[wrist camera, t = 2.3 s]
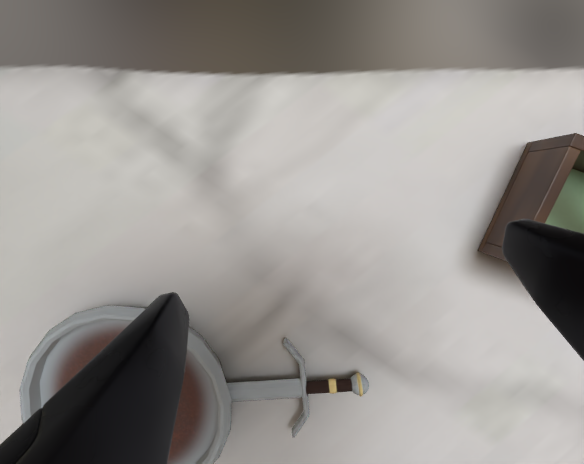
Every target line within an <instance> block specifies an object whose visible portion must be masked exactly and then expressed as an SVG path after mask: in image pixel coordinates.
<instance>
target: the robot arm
mask: <svg viewBox="0 0 584 464" xmlns="http://www.w3.org/2000/svg"><path fill="white" fill-rule="evenodd" d="M502 252H503V255H504V257H505V258H506V260H507V261H508V263H509V264H510V266H511V267H512V269H513V270H514V272H515V273H516V275H517V276H518V278H519V279H520V281H521V282H522V284H523V285H524V287H525V288H526V290H527V291H528V293H529V294H530V296H531V297H532V298H533V300H534V301H535V302H536V304H537V305H538V306H539V308H540V309H541V310H542V311H543V313H544V314H545V315H546V316H547V317H548V319H549V320H550V321H551V322H552V323H553V325H554V326H555V327H556V328H557V329H558V331H559V332H560V333H561V334H562V335H563V337H564V338H565V339H566V340H567V341H568V343H569V344H570V345H571V346H572V347H573V349H574V350H575V351H576V352H577V353H578V354H579V356H580V357H581V358H582V359H583V360H584V233H580V232H576V231H572V230H568V229H565V228H561V227H557V226H553V225H549V224H545V223H541V222H537V221H534V220H530V219H520V220H516V221H511V222H509V223H508V224H507V225H506V228H505V234H504V239H503V245H502ZM188 331H189V314H188V311H187V310H186V308H185V306H184V304H183V303H182V301H181V299H180V297H179V296H178V294H177V293H174V292H172V293H167V294H163V295H160V296H159V297H158V298H157V299H156V300H155V301H154V302H152V303H151V304H150V305H149V306H148V307H147V308H146V309H145V310H144V311H143V312H142V313H141V314H140V315H139V316H138V317H136V318H135V319H134V320H133V321H132V322H131V323H130V324H129V325H128V326H127V327H126V328H125V329H124V330H123V331H122V332H120V333H119V334H118V335H117V336H116V337H115V338H114V339H113V340H112V341H111V342H110V343H109V344H108V345H107V346H106V347H104V348H103V349H102V350H101V351H100V352H99V353H98V354H97V355H96V356H95V357H94V358H93V359H92V360H91V361H90V362H88V363H87V364H86V365H85V366H84V367H83V368H82V369H81V370H80V371H79V372H78V373H77V374H76V375H75V376H74V377H72V378H71V379H70V380H69V381H68V382H67V383H66V384H65V385H64V386H63V387H62V388H61V389H60V390H59V391H58V392H57V393H55V394H54V395H53V396H52V397H51V398H50V399H49V400H48V401H47V402H46V403H45V404H44V405H43V408H39V409H38V410H37V411H36V412H35V413H34V414H33V415H32V416H31V417H30V418H29V419H28V420H27V421H26V422H25V423H23V424H22V425H21V426H20V427H19V428H18V429H17V430H16V431H15V432H14V433H13V434H11V435H10V436H9V437H8V438H7V439H6V440H5V441H4V442H3V443H2V444H0V464H167V462H168V457H169V452H170V447H171V442H172V437H173V431H174V426H175V421H176V416H177V411H178V406H179V401H180V395H181V390H182V385H183V380H184V374H185V366H186V355H187V343H188Z"/></svg>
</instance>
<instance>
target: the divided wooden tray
mask: <svg viewBox="0 0 584 464" xmlns="http://www.w3.org/2000/svg"><path fill="white" fill-rule="evenodd" d="M520 219H530V220H534V221H537V222H541V223H545V224H549V225H553V226H557V227H561V228H565V229H568V230H572V231H576V232H580V233H584V136H582V135H579V134H577V133H574V134H569V135H564V136H559V137H554V138H549V139H544V140H538V141H534V142H529V143H528V144H527V146H526V148H525V151H524V153H523V155H522V157H521V159H520V161H519V163H518V166H517V168H516V170H515V172H514V174H513V176H512V178H511V181H510V183H509V185H508V187H507V189H506V191H505V193H504V196H503V198H502V200H501V202H500V204H499V206H498V208H497V211H496V213H495V215H494V217H493V219H492V221H491V223H490V226H489V228H488V230H487V232H486V234H485V236H484V238H483V240H482V243H481V245H480V247H479V249H478V251H480V252H483V253H486V254H488V255H491V256H494V257H496V258H499V259H502V260H505V261H507V260H506V258H505V257H504V255H503V252H502V245H503V239H504V234H505V228H506V225H507V224H508V223H509V222H511V221H516V220H520ZM507 262H508V261H507Z"/></svg>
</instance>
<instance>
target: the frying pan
mask: <svg viewBox="0 0 584 464" xmlns="http://www.w3.org/2000/svg"><path fill="white" fill-rule="evenodd" d="M145 309H146V308H140V307H129V306H110V305H107V306H103V307H99V308H95V309H90V310H86V311H82V312H78V313H75V314H73V315H72V316H70V317H69V318H67V319H66V320H64V321H63V322H61V323H60V324H58V325H56V326H55V327H53V328H52V329H50V330H49V331H48V333H47V334H46V335H45V337H44V338H43V339H42V341H41V342H40V343H39V345H38V346H37V347H36V349H35V350H34V351H33V353H32V354H31V356H30V358H29V360H28V362H27V365H26V369H25V372H24V376H23V379H22V383H21V386H20V404H21V418H22V421H23V423H25V422H26V421H27V420H28V419H29V418H30V417H31V416H32V415H33V414H34V413H35V412H36V411H37V410H38V409H39V408H43V405H44V404H45V403H46V402H47V401H48V400H49V399H50V398H51V397H52V396H53V395H54V394H55V393H57V392H58V391H59V390H60V389H61V388H62V387H63V386H64V385H65V384H66V383H67V382H68V381H69V380H70V379H71V378H72V377H74V376H75V375H76V374H77V373H78V372H79V371H80V370H81V369H82V368H83V367H84V366H85V365H86V364H87V363H88V362H90V361H91V360H92V359H93V358H94V357H95V356H96V355H97V354H98V353H99V352H100V351H101V350H102V349H103V348H104V347H106V346H107V345H108V344H109V343H110V342H111V341H112V340H113V339H114V338H115V337H116V336H117V335H118V334H119V333H120V332H122V331H123V330H124V329H125V328H126V327H127V326H128V325H129V324H130V323H131V322H132V321H133V320H134V319H135V318H136V317H138V316H139V315H140V314H141V313H142V312H143V311H144V310H145ZM283 345H284V346H285V347H286V349H287V350H288V351H289V352H290V354H291V355H292V356H293V357H294V358H295V360H296V361H297V362H298V363H299V369H300V378H298V379H282V380H267V381H252V382H236V383H226V380H225V377H224V374H223V370H222V367H221V364H220V361H219V359H218V358H217V356H216V355H215V353H214V352H213V351H212V349H211V348H210V347H209V345H208V344H207V342H206V341H205V340H204V338H203V337H202V336H201V335H199V334H198V333H197V332H195V331H194V330H193V329H192V328H190V327H189V331H188V343H187V355H186V366H185V374H184V380H183V385H182V390H181V395H180V401H179V406H178V411H177V416H176V421H175V426H174V431H173V437H172V442H171V447H170V452H169V457H168V462H167V464H213V463H214V462H215V461H216V460H217V459H218V458H219V456H220V454H221V452H222V449H223V447H224V444H225V442H226V439H227V437H228V435H229V432H230V427H231V402H238V401H254V400H270V399H286V398H302V399H303V410H304V412H303V413H302V414H301V416H300V417H299V419H298V420H297V422H296V423H295V425H294V426H293V428H292V437H295V436H296V434H297V433H298V432H299V430H300V429H301V427H302V426H303V424H304V423H305V421H306V420H307V418H308V417H309V402H308V394H315V393H332V394H334V393H337V392H347V391H352V392H353V393H355V394H357V395H359V396H362V395H363V394H365V393H366V392H367V391H368V388H369V383H368V380H367V378H366V377H365V376H363V375H362V374H360V373H358V372H357V373H356V374H355V375H353V376H352V377H351V378H350V379H333V378H332V379H328V380H319V381H306V370H305V360H304V358H303V357H302V356H301V355H300V353H299V352H298V351H297V350H296V349H295V347H294V346H293V345H292V344H291V342H290V341H289V340H288V339H287V338H284V343H283Z"/></svg>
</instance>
